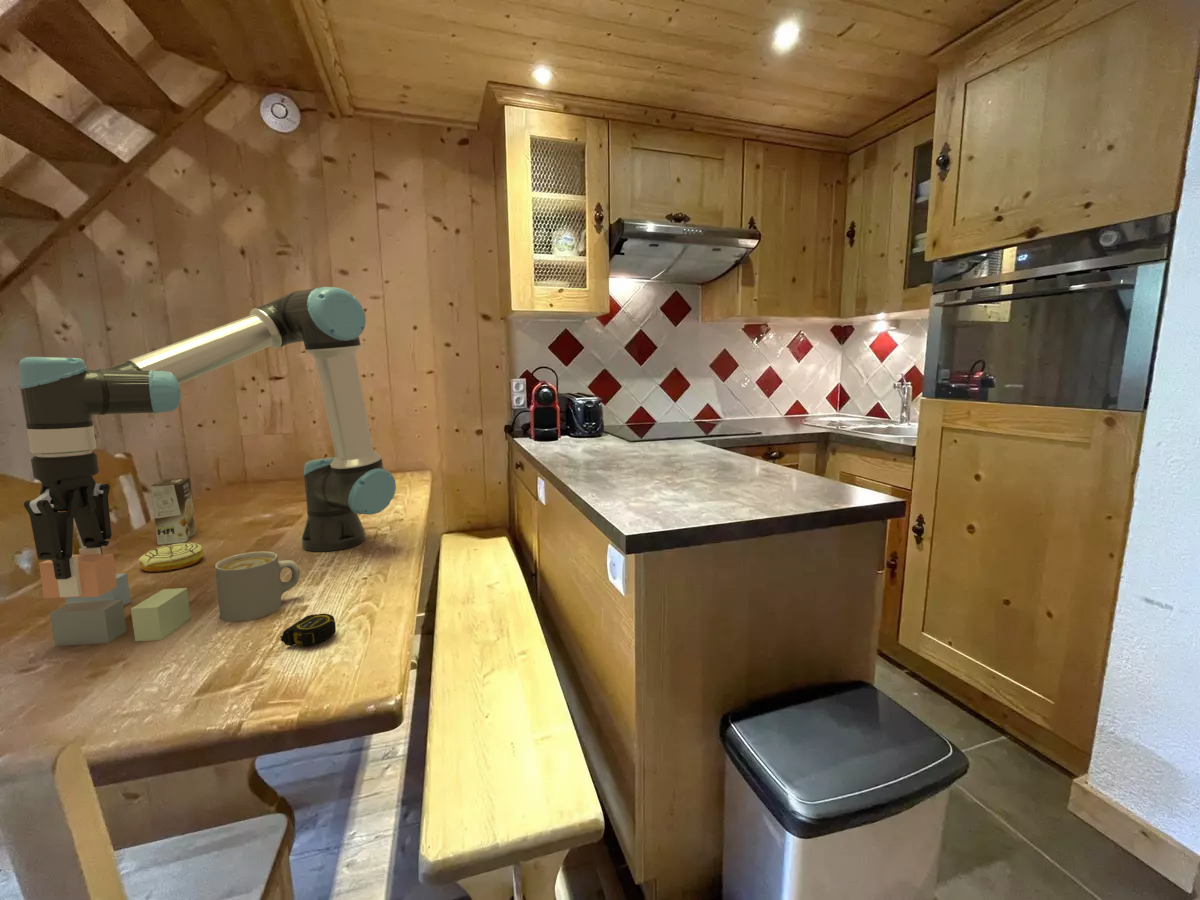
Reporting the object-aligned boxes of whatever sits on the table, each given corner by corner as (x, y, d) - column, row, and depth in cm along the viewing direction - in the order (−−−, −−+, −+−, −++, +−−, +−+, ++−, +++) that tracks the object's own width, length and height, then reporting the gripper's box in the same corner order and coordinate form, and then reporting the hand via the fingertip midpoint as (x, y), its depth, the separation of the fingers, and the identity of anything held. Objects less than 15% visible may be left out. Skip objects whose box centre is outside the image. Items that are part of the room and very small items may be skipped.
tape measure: (310, 629, 93) (309, 610, 92) (345, 633, 92) (343, 613, 91) (281, 649, 86) (279, 628, 86) (317, 653, 85) (316, 632, 84)
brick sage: (167, 619, 96) (163, 589, 95) (190, 618, 97) (187, 588, 96) (135, 641, 88) (130, 608, 87) (161, 640, 89) (157, 607, 88)
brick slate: (126, 631, 91) (122, 599, 91) (108, 643, 88) (104, 610, 87) (75, 634, 90) (70, 602, 89) (55, 646, 86) (49, 612, 86)
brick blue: (130, 602, 103) (127, 573, 102) (115, 611, 99) (111, 581, 98) (85, 604, 102) (81, 575, 101) (68, 613, 98) (63, 583, 97)
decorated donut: (142, 563, 124) (140, 546, 123) (203, 553, 131) (201, 537, 130) (139, 578, 115) (136, 560, 114) (205, 566, 122) (203, 549, 122)
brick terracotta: (117, 586, 90) (113, 553, 89) (98, 596, 86) (94, 561, 85) (64, 588, 89) (60, 554, 88) (43, 598, 85) (39, 563, 84)
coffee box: (187, 542, 138) (180, 483, 136) (156, 545, 135) (149, 485, 133) (196, 532, 146) (190, 477, 144) (168, 535, 144) (161, 478, 141)
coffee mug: (218, 626, 93) (212, 574, 92) (222, 605, 102) (216, 557, 100) (303, 609, 100) (299, 560, 99) (300, 590, 109) (296, 545, 107)
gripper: (82, 446, 92) (98, 571, 95) (-17, 462, 75) (8, 614, 79) (129, 445, 93) (144, 570, 96) (42, 461, 76) (64, 611, 80)
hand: (83, 589), depth 87 cm, fingers closed on brick terracotta, 4 cm apart
